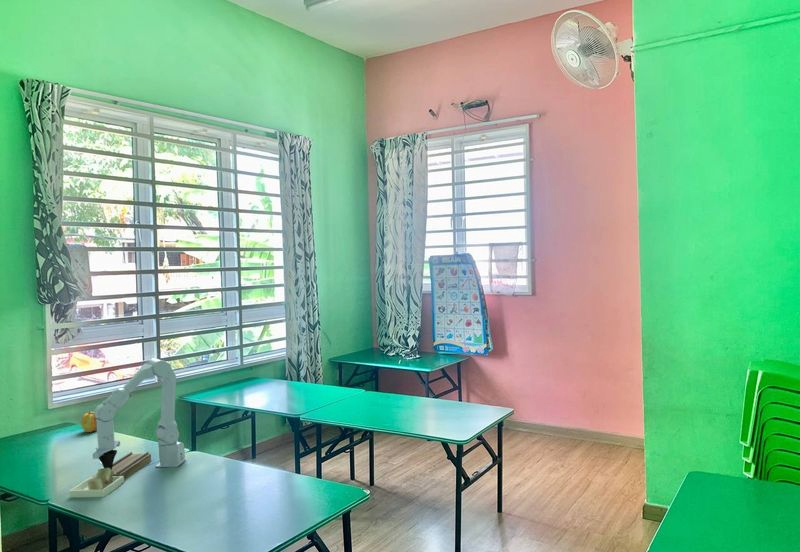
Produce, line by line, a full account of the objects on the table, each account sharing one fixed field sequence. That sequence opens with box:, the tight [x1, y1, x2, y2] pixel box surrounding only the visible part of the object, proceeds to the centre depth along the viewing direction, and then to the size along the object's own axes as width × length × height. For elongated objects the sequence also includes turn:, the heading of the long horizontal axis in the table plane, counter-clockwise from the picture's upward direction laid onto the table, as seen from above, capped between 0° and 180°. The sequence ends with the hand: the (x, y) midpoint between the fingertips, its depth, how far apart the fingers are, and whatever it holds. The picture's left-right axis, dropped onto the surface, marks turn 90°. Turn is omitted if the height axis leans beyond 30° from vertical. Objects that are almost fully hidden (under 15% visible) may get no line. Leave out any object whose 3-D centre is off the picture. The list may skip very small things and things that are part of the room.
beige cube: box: [95, 467, 114, 483], centre depth 217 cm, size 4×4×4 cm
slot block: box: [95, 451, 152, 481], centre depth 231 cm, size 10×22×4 cm, turn 175°
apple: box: [80, 411, 97, 433], centre depth 288 cm, size 9×9×10 cm
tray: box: [68, 476, 125, 498], centre depth 213 cm, size 13×13×2 cm
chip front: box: [87, 475, 105, 490], centre depth 212 cm, size 4×4×4 cm
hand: (108, 470), depth 220 cm, fingers closed
